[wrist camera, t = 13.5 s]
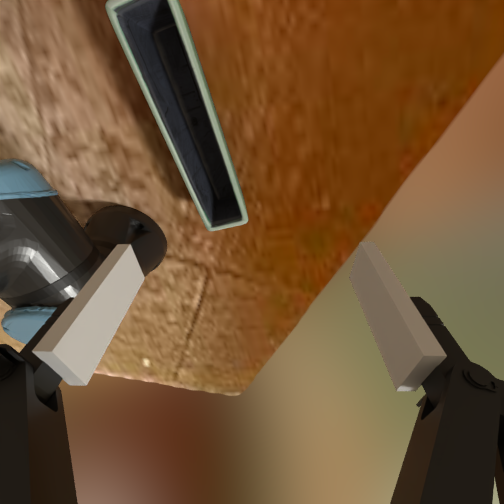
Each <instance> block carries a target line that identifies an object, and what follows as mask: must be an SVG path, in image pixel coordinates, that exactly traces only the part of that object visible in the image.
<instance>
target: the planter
mask: <svg viewBox="0 0 504 504" xmlns="http://www.w3.org/2000/svg"><path fill="white" fill-rule="evenodd" d="M105 8H106V11H107V14H108V17H109V19H110V22H111V24H112V26H113V28H114V31H115V33H116V35H117V37H118V40H119V42H120V44H121V46H122V48H123V50H124V53H125V55H126V57H127V59H128V61H129V64H130V66H131V68H132V70H133V72H134V74H135V77H136V79H137V81H138V83H139V85H140V87H141V90H142V92H143V94H144V96H145V98H146V100H147V103H148V105H149V107H150V109H151V111H152V113H153V115H154V118H155V120H156V122H157V124H158V126H159V128H160V131H161V133H162V135H163V137H164V139H165V141H166V144H167V146H168V148H169V150H170V152H171V154H172V156H173V159H174V161H175V163H176V165H177V167H178V169H179V171H180V174H181V176H182V178H183V180H184V182H185V184H186V186H187V189H188V191H189V193H190V195H191V197H192V199H193V201H194V204H195V206H196V208H197V210H198V212H199V214H200V216H201V218H202V221H203V223H204V225H205V226H206V228H207V230H209V231H216V230H220V229H225V228H230V227H234V226H238V225H242V224H245V223H247V222H248V215H247V210H246V206H245V202H244V198H243V194H242V191H241V188H240V184H239V181H238V178H237V175H236V172H235V169H234V165H233V162H232V159H231V156H230V153H229V150H228V147H227V144H226V141H225V137H224V134H223V131H222V128H221V125H220V122H219V119H218V116H217V113H216V109H215V106H214V103H213V100H212V97H211V94H210V91H209V88H208V85H207V82H206V79H205V75H204V72H203V69H202V66H201V63H200V60H199V57H198V54H197V51H196V48H195V45H194V42H193V39H192V36H191V32H190V29H189V26H188V24H187V21H186V18H185V15H184V12H183V10H182V7H181V5H180V3H179V0H108V1H107V2H106V5H105Z"/></svg>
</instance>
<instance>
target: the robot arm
mask: <svg viewBox="0 0 504 504" xmlns="http://www.w3.org/2000/svg"><path fill="white" fill-rule="evenodd" d="M166 251H167V241H166V238H165V235H164V233H163V231H162V230H161V228H160V227H159V226H158V225H157V224H156V223H155V222H154V221H153V220H152V219H151V218H149V217H148V216H147V215H145V214H143V213H142V212H140V211H137V210H135V209H132V208H129V207H124V206H109V207H105V208H102V209H100V210H99V211H97V212H96V213H95V214H94V215H93V216H92V217H91V218H90V219H89V220H88V221H87V223H86V225H85V228H84V230H83V228H82V227H81V226H80V224H79V223H78V221H77V220H76V219H75V217H74V216H73V215H72V213H71V212H70V211H69V209H68V208H67V207H66V205H65V204H64V203H63V201H62V200H61V199H60V197H59V196H58V192H57V190H54V189H53V188H52V187H51V186H50V184H49V183H48V182H47V181H46V180H45V178H44V177H43V176H42V175H41V174H40V172H39V171H38V170H37V169H36V168H35V167H34V166H33V165H31V164H30V163H28V162H26V161H23V160H20V159H3V160H0V298H1V299H2V300H3V301H4V302H6V303H7V304H8V305H9V306H11V307H12V309H11V310H9V311H8V312H6V313H5V315H4V318H3V319H2V322H1V323H2V327H3V330H4V331H5V332H6V333H7V334H8V335H10V336H11V337H12V338H14V339H16V340H18V341H20V342H22V343H24V344H26V346H25V347H24V348H23V349H22V350H21V352H20V353H18V352H17V351H16V350H15V349H13V348H12V347H11V346H9V345H7V344H0V504H78V503H77V497H76V490H75V483H74V476H73V469H72V463H71V455H70V449H69V442H68V435H67V428H66V422H65V414H64V407H63V401H62V394H61V390H60V388H59V387H58V385H59V384H60V382H61V380H62V379H63V380H64V381H65V382H67V383H68V384H69V385H87V384H88V382H89V380H90V378H91V376H92V374H93V373H94V371H95V369H96V367H97V365H98V364H99V362H100V360H101V358H102V356H103V354H104V353H105V351H106V349H107V347H108V345H109V343H110V342H111V340H112V338H113V336H114V334H115V332H116V331H117V329H118V327H119V325H120V323H121V321H122V320H123V318H124V316H125V314H126V312H127V310H128V309H129V307H130V305H131V303H132V301H133V299H134V297H135V296H136V294H137V292H138V290H139V288H140V286H141V285H142V283H143V281H144V279H145V276H147V275H148V274H149V273H150V272H151V271H153V270H154V269H155V268H157V267H158V266H159V265H160V263H161V262H162V260H163V258H164V256H165V254H166ZM349 278H350V280H351V283H352V285H353V288H354V290H355V292H356V295H357V297H358V300H359V302H360V305H361V307H362V309H363V312H364V314H365V316H366V319H367V321H368V324H369V326H370V328H371V331H372V333H373V336H374V338H375V341H376V343H377V345H378V348H379V350H380V353H381V355H382V357H383V360H384V362H385V365H386V367H387V369H388V372H389V374H390V377H391V379H392V381H393V384H394V386H395V388H396V391H416V390H417V389H418V388H419V387H420V386H421V385H422V386H423V388H424V390H425V392H426V394H425V396H423V397H422V399H421V400H420V401H419V402H418V403H417V404H416V405H417V406H418V407H420V406H421V407H420V410H419V414H418V417H417V420H416V423H415V426H414V430H413V433H412V436H411V439H410V442H409V445H408V449H407V452H406V455H405V458H404V461H403V465H402V468H401V471H400V474H399V477H398V481H397V484H396V487H395V490H394V493H393V496H392V500H391V503H390V504H492V500H493V488H494V477H495V481H496V487H497V492H498V497H499V503H500V504H504V381H503V380H499V379H497V378H495V377H494V376H493V375H492V374H491V373H490V372H489V371H488V370H486V369H485V368H483V367H481V366H480V365H478V364H475V363H473V362H471V361H470V360H469V359H468V358H467V356H466V355H465V354H464V352H463V351H462V349H461V348H460V346H459V345H458V344H457V342H456V341H455V339H454V338H453V337H452V335H451V334H450V332H449V331H448V330H447V328H446V327H445V326H444V324H443V322H442V321H441V320H440V318H438V315H437V314H436V312H435V311H434V310H433V308H432V307H431V306H430V305H429V304H428V303H427V302H425V301H424V300H423V299H422V298H421V297H409V296H408V294H407V293H406V291H405V290H404V288H403V286H402V285H401V283H400V282H399V280H398V279H397V277H396V276H395V274H394V272H393V271H392V269H391V268H390V266H389V264H388V263H387V261H386V260H385V258H384V257H383V255H382V254H381V252H380V250H379V249H378V247H377V246H376V244H375V243H374V242H360V244H359V247H358V251H357V254H356V257H355V261H354V264H353V267H352V271H351V274H350V277H349Z"/></svg>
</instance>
